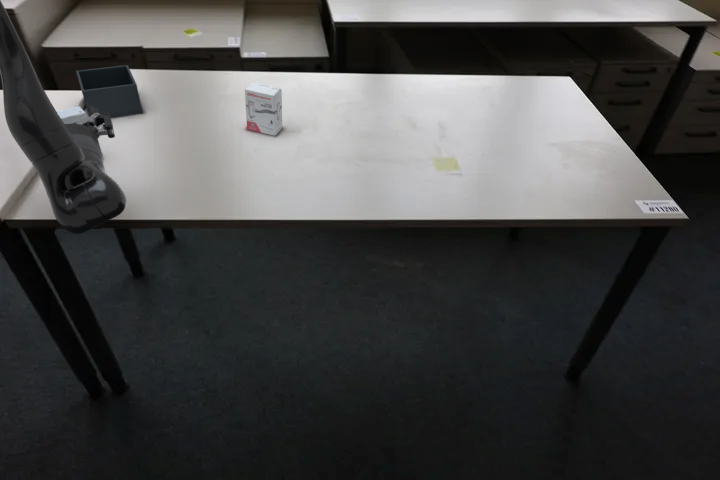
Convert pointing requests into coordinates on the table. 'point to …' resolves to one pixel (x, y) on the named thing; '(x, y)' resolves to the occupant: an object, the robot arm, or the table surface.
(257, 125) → the ink box
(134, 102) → the bin
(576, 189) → the table surface
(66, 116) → the cosmetic box
